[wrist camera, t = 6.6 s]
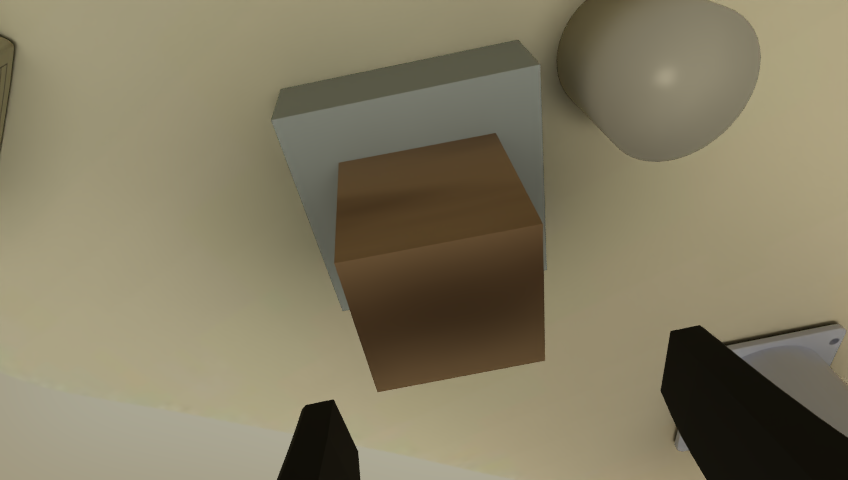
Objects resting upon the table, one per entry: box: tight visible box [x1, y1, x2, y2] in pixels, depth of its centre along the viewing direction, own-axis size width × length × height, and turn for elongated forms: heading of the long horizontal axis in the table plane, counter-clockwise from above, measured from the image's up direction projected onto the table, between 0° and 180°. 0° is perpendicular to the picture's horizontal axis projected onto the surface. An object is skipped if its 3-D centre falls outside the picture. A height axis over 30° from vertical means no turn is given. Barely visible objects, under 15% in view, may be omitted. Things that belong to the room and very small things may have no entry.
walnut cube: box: [334, 133, 545, 392], centre depth 16 cm, size 5×5×5 cm
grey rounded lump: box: [557, 0, 761, 162], centre depth 16 cm, size 4×4×4 cm
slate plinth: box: [271, 40, 547, 311], centre depth 19 cm, size 8×8×3 cm
